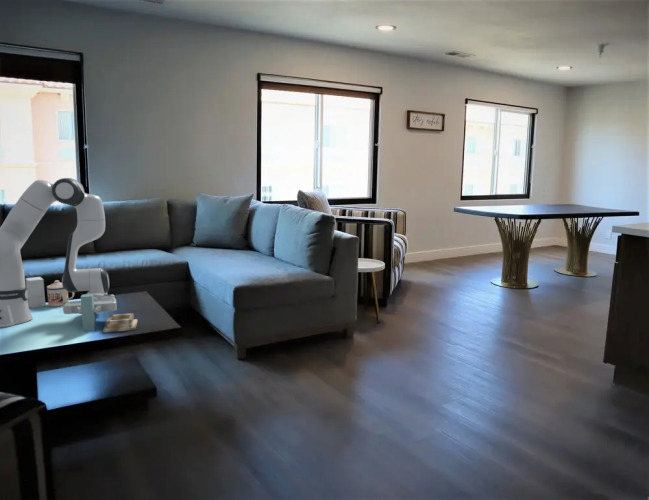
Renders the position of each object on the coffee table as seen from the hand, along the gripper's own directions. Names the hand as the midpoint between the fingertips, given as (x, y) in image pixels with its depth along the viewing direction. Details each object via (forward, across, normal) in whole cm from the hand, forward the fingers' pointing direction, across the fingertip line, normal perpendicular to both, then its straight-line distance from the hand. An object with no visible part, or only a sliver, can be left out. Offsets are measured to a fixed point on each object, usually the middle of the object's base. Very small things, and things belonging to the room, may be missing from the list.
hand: (87, 311), depth 204 cm
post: (-1, 0, +8) cm, 8 cm away
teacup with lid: (-46, -19, +8) cm, 50 cm away
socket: (-1, +12, +8) cm, 14 cm away
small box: (-47, -30, +8) cm, 56 cm away
